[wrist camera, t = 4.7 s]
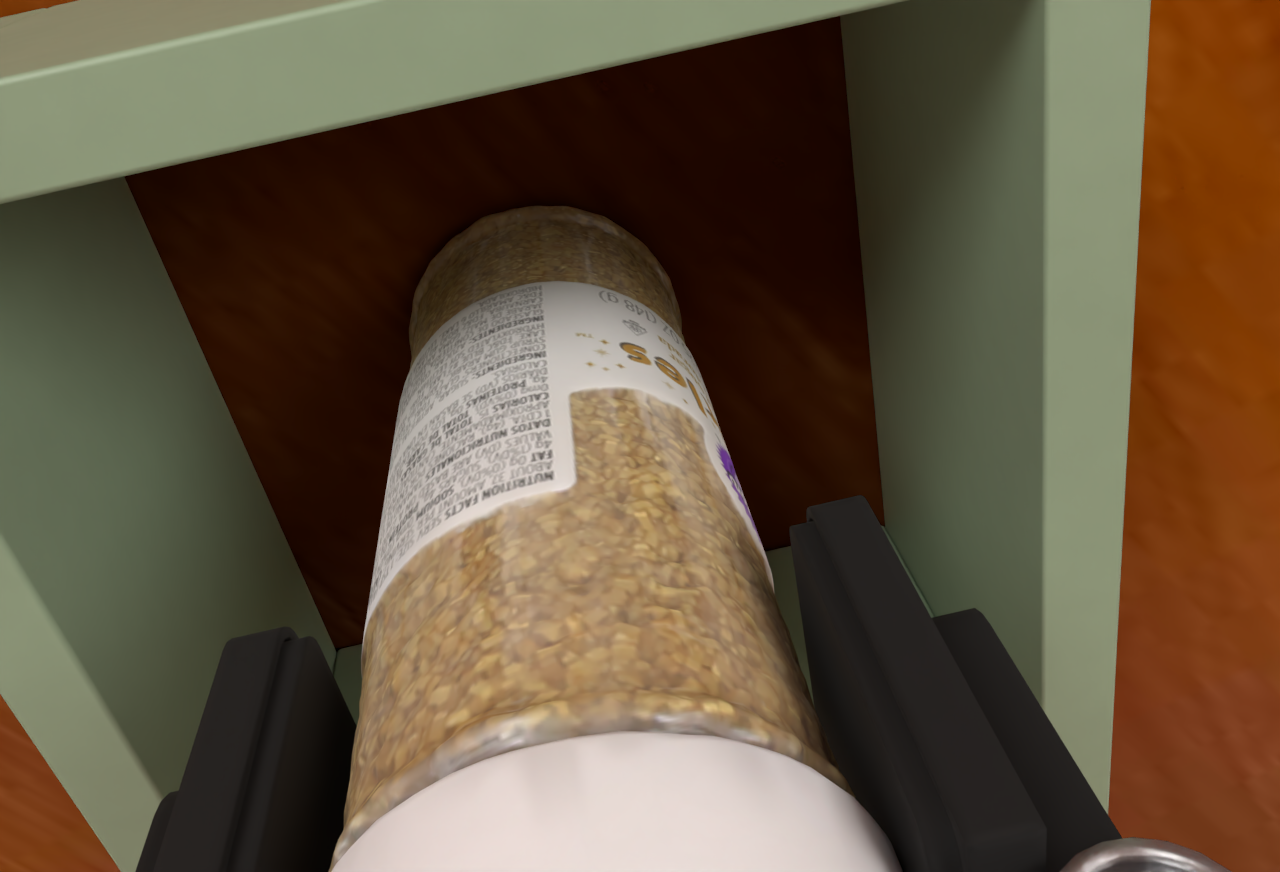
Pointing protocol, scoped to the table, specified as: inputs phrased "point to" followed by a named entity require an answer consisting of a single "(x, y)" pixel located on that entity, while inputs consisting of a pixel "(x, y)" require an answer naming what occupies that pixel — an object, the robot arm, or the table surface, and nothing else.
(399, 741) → the sprinkles bottle
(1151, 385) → the table surface
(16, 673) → the crate
